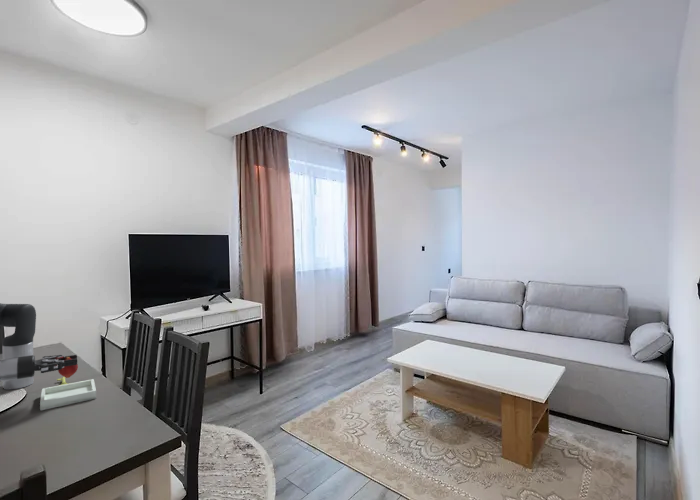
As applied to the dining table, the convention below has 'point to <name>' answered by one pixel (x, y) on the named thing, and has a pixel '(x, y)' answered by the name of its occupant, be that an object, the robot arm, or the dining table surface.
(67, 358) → the onion
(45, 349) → the dining table surface
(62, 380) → the key
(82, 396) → the tray
